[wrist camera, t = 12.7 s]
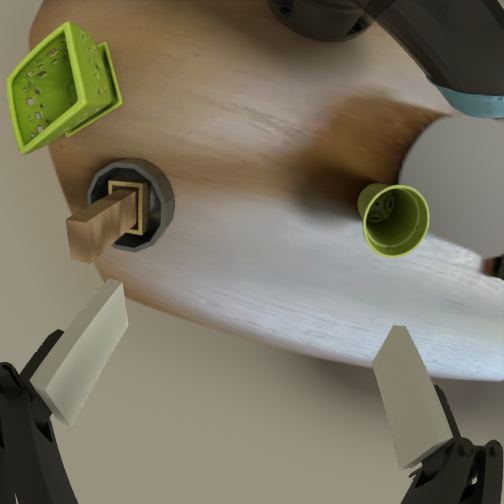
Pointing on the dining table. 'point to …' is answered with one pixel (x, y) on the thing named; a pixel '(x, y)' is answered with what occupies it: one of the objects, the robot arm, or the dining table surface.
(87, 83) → the flower pot
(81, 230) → the wooden slab
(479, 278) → the dining table surface
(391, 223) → the plant pot
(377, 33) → the dining table surface
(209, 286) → the dining table surface
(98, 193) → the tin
